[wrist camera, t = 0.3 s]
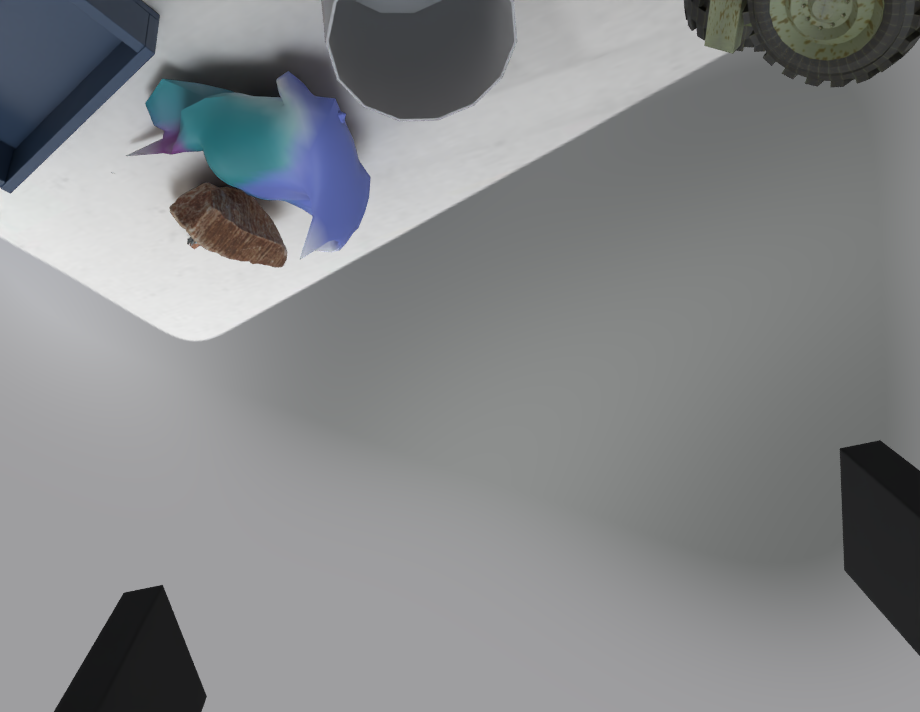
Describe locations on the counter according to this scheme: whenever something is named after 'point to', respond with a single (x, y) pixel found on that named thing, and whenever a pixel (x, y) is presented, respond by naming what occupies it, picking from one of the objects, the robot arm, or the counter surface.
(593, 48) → the counter surface
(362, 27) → the cup
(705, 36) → the toy jeep
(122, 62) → the bin
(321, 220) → the figurine
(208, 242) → the stone
